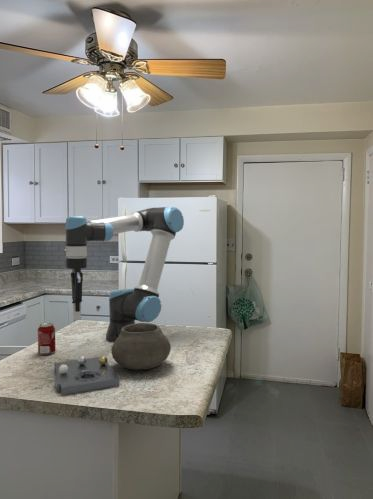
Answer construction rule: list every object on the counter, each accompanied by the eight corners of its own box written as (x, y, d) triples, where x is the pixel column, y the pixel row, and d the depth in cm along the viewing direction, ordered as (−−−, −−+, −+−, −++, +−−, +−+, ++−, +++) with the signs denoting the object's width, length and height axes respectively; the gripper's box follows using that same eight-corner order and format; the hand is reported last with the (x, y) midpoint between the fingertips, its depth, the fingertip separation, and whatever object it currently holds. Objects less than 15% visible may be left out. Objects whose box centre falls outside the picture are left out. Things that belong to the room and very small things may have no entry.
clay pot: (122, 382, 129) (121, 338, 128) (104, 362, 148) (104, 324, 147) (180, 371, 139) (180, 330, 138) (156, 354, 158) (156, 318, 157)
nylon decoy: (67, 371, 132) (67, 362, 132) (68, 374, 130) (68, 365, 129) (58, 372, 131) (58, 363, 131) (59, 375, 128) (59, 366, 128)
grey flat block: (51, 370, 140) (51, 363, 140) (106, 362, 148) (106, 355, 148) (58, 396, 118) (58, 388, 118) (122, 385, 126) (121, 377, 126)
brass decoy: (106, 362, 141) (106, 354, 141) (108, 365, 138) (108, 357, 138) (98, 363, 140) (98, 355, 139) (99, 366, 137) (99, 358, 137)
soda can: (49, 356, 155) (49, 327, 155) (34, 355, 157) (34, 326, 156) (58, 351, 162) (58, 323, 161) (44, 350, 163) (43, 322, 163)
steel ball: (85, 362, 141) (85, 354, 141) (87, 365, 138) (87, 356, 138) (76, 363, 140) (76, 355, 139) (78, 366, 137) (77, 357, 136)
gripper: (64, 256, 149) (64, 316, 150) (68, 259, 137) (69, 324, 138) (83, 256, 152) (84, 315, 153) (89, 258, 140) (90, 322, 142)
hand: (77, 319), depth 146 cm, fingers closed
